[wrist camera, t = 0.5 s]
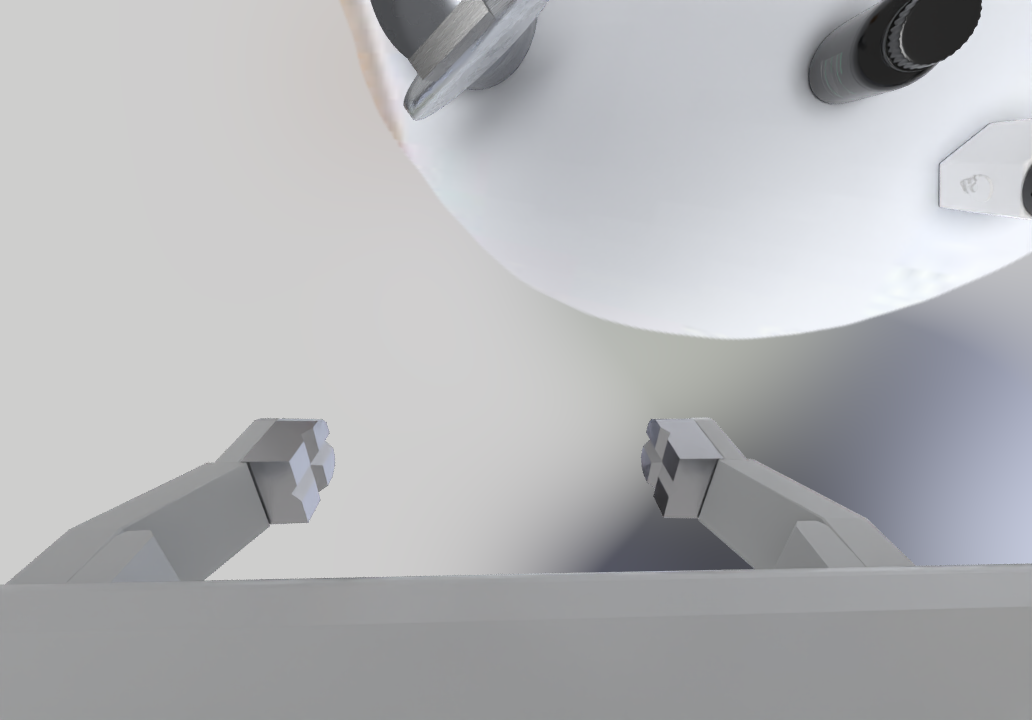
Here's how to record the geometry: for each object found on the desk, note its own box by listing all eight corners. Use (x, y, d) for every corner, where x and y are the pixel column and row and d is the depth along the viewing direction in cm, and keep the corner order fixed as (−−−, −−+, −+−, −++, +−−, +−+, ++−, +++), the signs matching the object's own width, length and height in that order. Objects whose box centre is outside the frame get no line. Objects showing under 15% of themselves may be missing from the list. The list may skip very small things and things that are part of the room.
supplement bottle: (885, 2, 36) (1002, -67, 25) (892, 82, 38) (1003, 50, 28) (801, 45, 38) (876, -2, 28) (812, 118, 41) (885, 101, 30)
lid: (358, 115, 24) (373, 133, 25) (545, -93, 18) (559, -64, 19) (432, 106, 38) (440, 118, 38) (552, -13, 32) (560, 2, 33)
